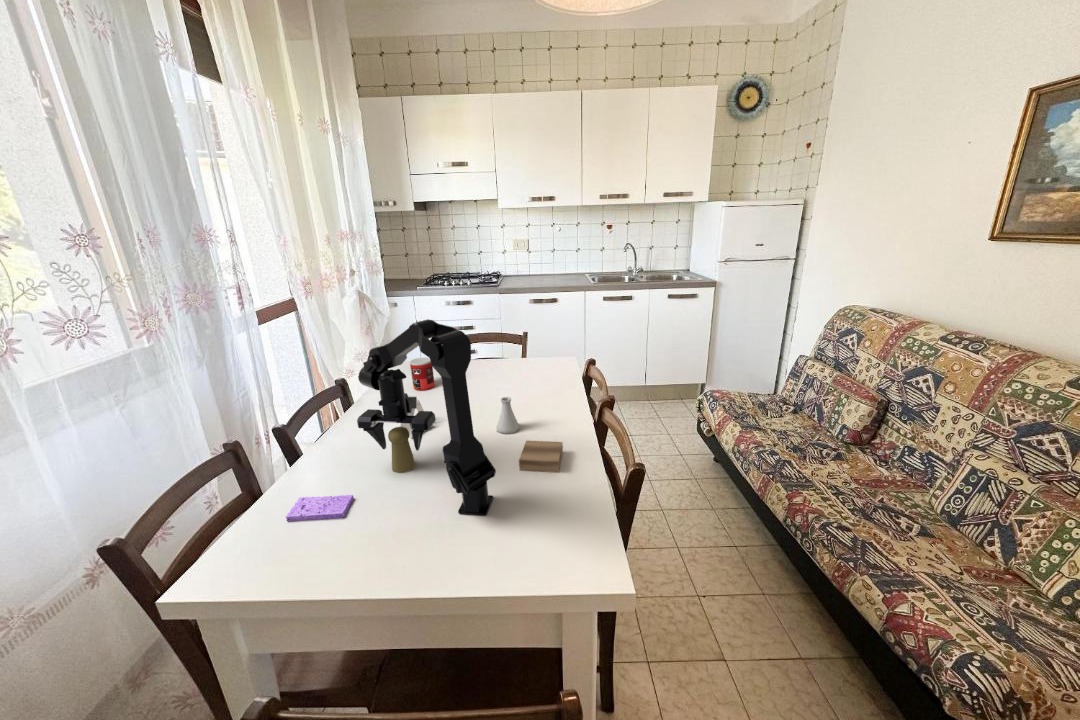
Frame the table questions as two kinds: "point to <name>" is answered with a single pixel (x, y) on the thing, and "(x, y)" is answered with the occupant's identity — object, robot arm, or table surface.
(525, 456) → the walnut block
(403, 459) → the olive pawn
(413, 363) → the canned food
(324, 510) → the sponges
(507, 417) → the flask
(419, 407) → the portable electronic device stand
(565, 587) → the table surface
